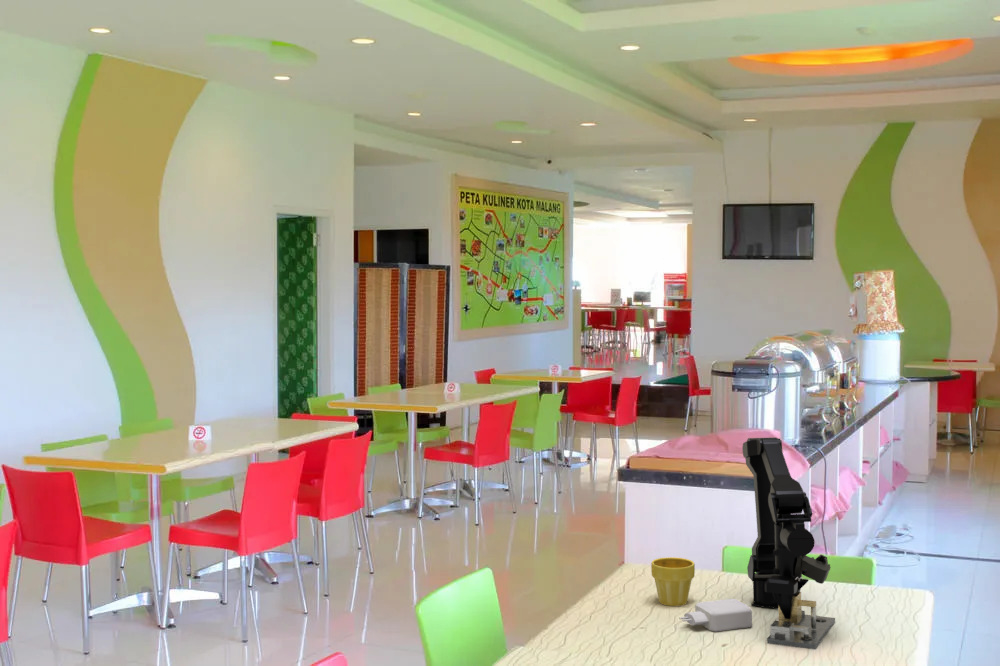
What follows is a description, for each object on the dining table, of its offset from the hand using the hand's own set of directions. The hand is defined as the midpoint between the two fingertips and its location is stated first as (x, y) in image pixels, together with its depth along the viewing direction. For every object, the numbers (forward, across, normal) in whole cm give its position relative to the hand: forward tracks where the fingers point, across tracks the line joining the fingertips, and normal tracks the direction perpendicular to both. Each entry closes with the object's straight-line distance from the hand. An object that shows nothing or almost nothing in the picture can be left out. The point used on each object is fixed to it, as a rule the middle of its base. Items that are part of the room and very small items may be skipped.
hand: (790, 615), depth 231 cm
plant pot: (+4, +11, +30) cm, 33 cm away
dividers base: (+3, 0, -2) cm, 4 cm away
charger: (+4, -3, +17) cm, 17 cm away
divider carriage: (+2, 0, -2) cm, 3 cm away
